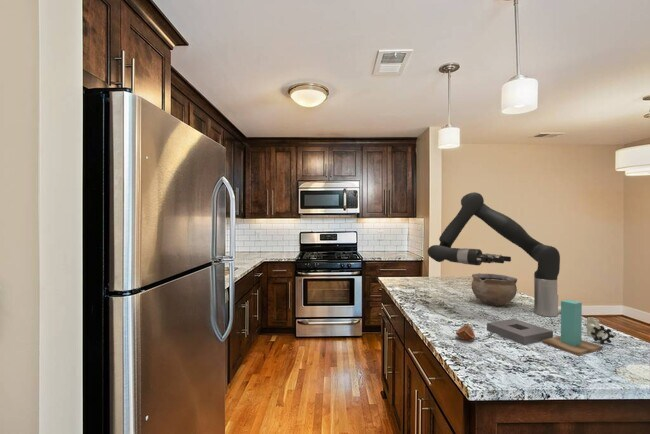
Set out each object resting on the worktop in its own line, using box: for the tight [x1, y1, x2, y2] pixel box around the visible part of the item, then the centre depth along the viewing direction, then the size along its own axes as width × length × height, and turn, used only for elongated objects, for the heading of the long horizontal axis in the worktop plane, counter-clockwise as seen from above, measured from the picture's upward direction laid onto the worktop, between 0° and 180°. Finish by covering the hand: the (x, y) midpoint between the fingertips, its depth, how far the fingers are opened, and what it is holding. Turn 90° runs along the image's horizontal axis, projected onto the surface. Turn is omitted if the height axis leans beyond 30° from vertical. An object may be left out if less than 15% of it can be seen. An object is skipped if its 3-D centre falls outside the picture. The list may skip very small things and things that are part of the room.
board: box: [541, 335, 603, 357], centre depth 115 cm, size 14×12×1 cm
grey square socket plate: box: [486, 318, 554, 346], centre depth 126 cm, size 16×16×3 cm
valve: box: [585, 317, 615, 345], centre depth 122 cm, size 7×7×12 cm
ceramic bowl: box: [471, 272, 518, 306], centre depth 172 cm, size 22×22×15 cm
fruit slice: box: [455, 323, 476, 341], centre depth 120 cm, size 8×7×5 cm
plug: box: [560, 299, 583, 346], centre depth 115 cm, size 4×4×15 cm
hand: (507, 260), depth 138 cm, fingers open, 8 cm apart
